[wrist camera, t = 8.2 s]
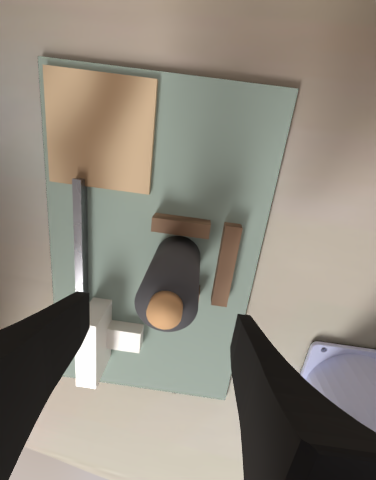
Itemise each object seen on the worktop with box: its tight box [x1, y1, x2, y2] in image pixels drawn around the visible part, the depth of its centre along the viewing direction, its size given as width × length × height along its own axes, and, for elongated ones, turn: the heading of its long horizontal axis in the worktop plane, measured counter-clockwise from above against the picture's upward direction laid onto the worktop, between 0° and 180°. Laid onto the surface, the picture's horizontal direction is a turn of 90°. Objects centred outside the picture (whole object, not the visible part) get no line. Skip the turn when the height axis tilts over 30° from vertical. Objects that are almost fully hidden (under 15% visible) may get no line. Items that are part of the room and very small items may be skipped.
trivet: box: [42, 64, 158, 195], centre depth 17 cm, size 7×7×1 cm
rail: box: [72, 178, 88, 293], centre depth 21 cm, size 1×16×1 cm, turn 173°
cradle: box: [151, 213, 243, 307], centre depth 19 cm, size 6×6×1 cm
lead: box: [134, 236, 200, 332], centre depth 16 cm, size 3×3×7 cm
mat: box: [38, 56, 299, 400], centre depth 20 cm, size 16×26×1 cm, turn 173°
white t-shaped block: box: [75, 297, 144, 389], centre depth 21 cm, size 4×6×3 cm
